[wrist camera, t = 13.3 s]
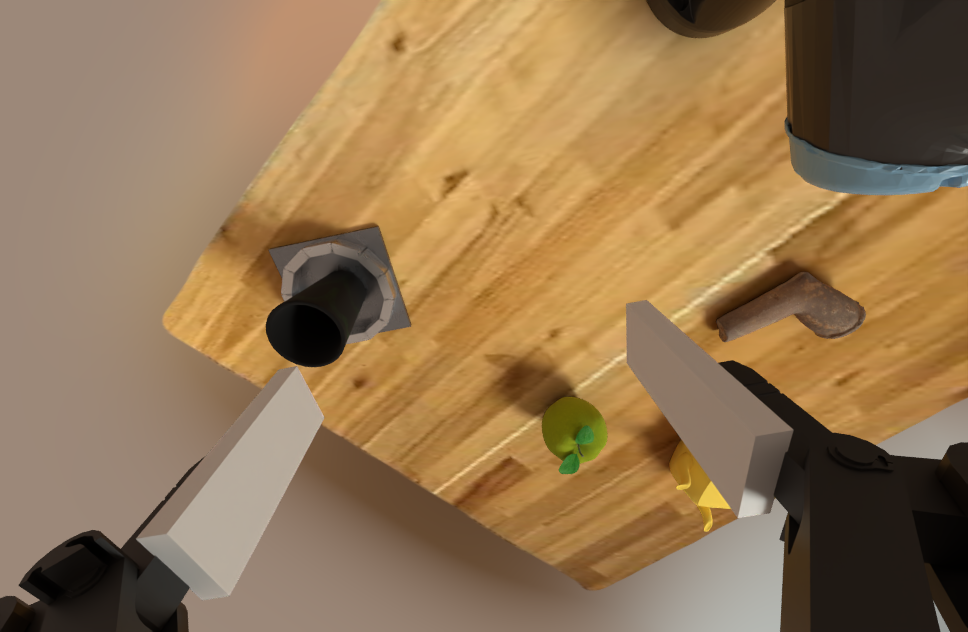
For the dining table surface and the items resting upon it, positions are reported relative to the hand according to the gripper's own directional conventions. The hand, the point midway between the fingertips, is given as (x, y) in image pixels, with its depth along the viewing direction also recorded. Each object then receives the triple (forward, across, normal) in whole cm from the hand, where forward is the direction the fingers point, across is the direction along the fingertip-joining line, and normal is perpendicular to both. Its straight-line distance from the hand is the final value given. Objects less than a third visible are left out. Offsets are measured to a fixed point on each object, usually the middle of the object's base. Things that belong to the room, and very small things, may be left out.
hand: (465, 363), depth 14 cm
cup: (+31, -18, -6) cm, 37 cm away
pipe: (+32, +40, -22) cm, 56 cm away
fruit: (+32, +9, -33) cm, 47 cm away
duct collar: (+32, -18, -6) cm, 37 cm away
